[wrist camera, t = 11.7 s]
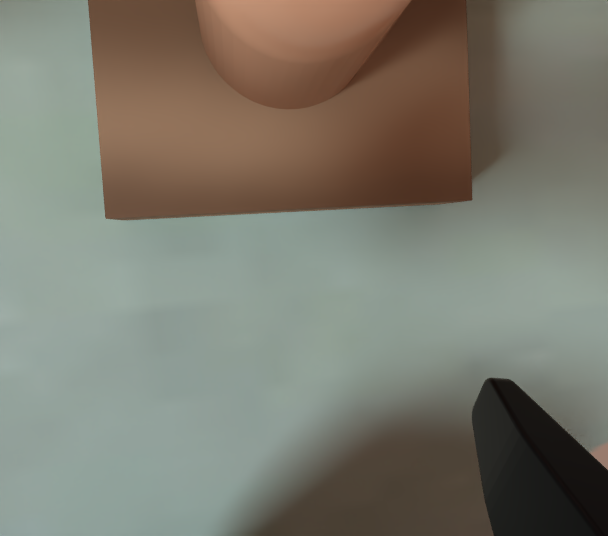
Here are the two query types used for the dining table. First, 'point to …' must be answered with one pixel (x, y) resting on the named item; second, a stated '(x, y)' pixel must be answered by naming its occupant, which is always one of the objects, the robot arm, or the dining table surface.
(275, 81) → the terracotta cylinder
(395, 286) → the dining table surface
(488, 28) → the dining table surface
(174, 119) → the walnut plinth
